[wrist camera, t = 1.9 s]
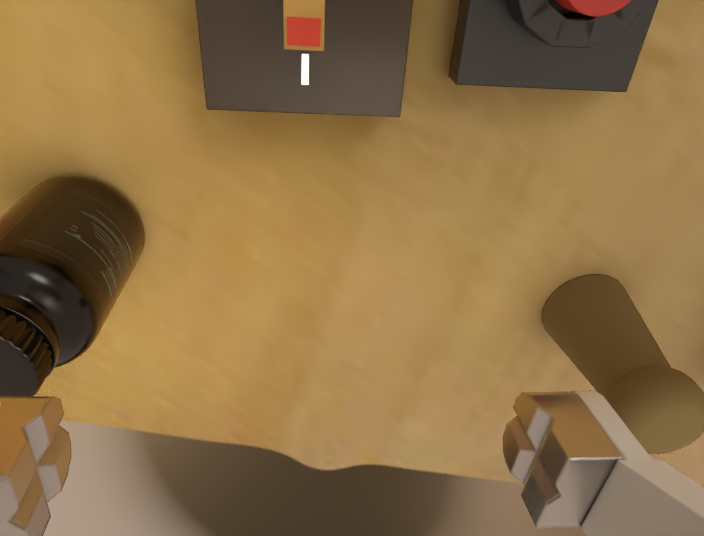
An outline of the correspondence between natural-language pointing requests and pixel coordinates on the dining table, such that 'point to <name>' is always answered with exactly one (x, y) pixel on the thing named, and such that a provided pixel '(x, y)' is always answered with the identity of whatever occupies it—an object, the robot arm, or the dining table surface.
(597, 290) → the brown pawn
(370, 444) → the dining table surface
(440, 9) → the dining table surface
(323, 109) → the clock face plate
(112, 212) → the supplement bottle
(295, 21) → the upright wooden block
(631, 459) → the robot arm
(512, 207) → the dining table surface
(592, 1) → the button
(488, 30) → the alarm box
